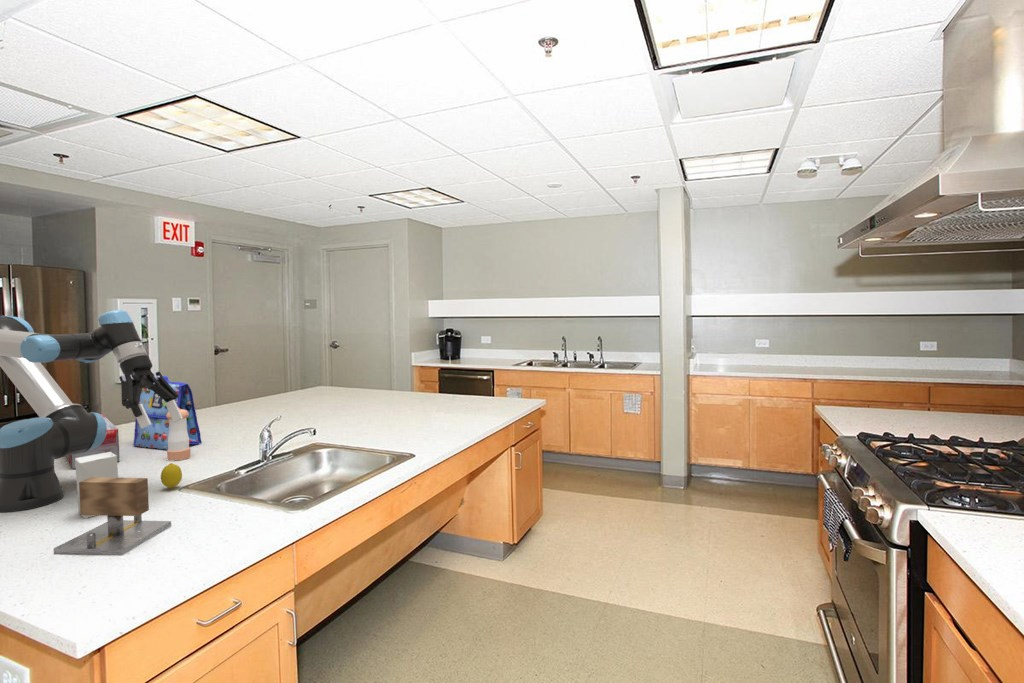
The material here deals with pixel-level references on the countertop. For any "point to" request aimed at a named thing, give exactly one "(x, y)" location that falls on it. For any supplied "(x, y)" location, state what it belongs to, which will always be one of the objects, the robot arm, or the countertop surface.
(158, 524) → the base plate
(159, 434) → the lunch bag
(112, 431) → the soda box
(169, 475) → the lemon
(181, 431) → the pink and white bottle
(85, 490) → the wooden block
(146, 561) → the countertop surface
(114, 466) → the skincare box
